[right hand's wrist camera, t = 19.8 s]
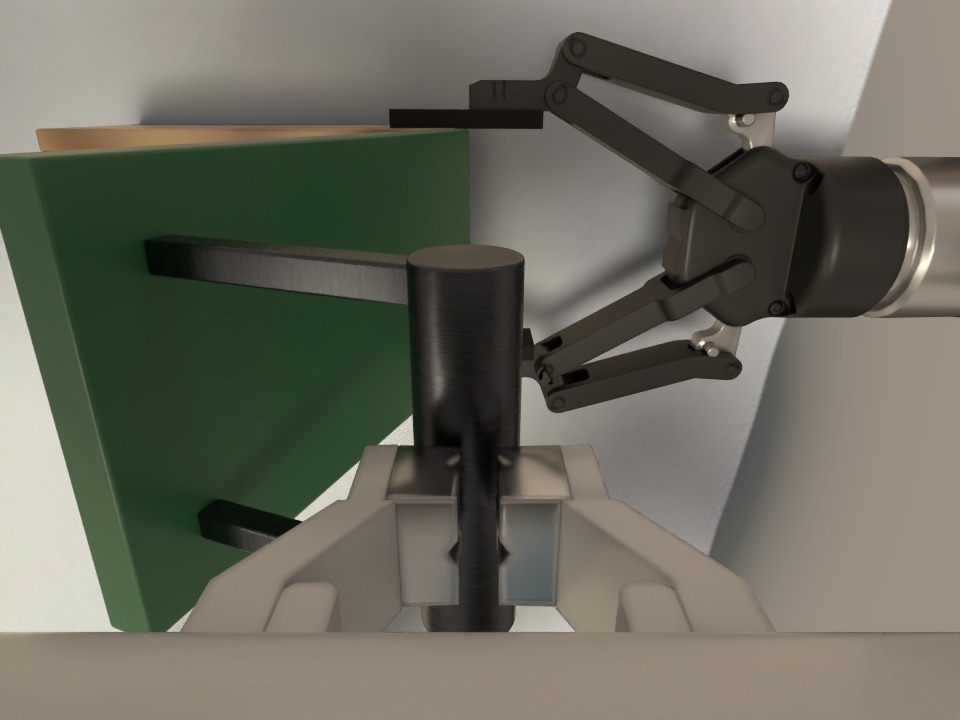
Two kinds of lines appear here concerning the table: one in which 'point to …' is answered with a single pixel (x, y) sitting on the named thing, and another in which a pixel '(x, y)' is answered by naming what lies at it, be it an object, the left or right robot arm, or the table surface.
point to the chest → (191, 134)
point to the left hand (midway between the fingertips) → (398, 238)
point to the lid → (260, 344)
